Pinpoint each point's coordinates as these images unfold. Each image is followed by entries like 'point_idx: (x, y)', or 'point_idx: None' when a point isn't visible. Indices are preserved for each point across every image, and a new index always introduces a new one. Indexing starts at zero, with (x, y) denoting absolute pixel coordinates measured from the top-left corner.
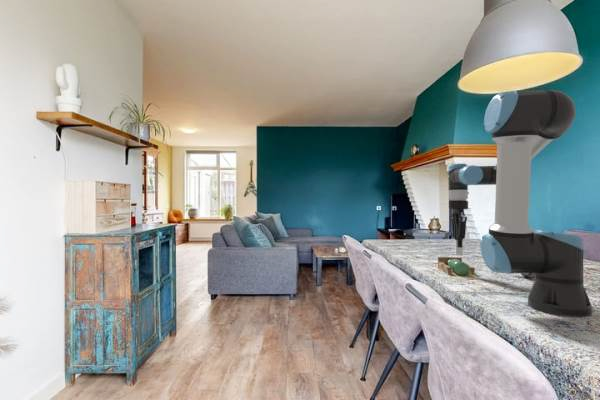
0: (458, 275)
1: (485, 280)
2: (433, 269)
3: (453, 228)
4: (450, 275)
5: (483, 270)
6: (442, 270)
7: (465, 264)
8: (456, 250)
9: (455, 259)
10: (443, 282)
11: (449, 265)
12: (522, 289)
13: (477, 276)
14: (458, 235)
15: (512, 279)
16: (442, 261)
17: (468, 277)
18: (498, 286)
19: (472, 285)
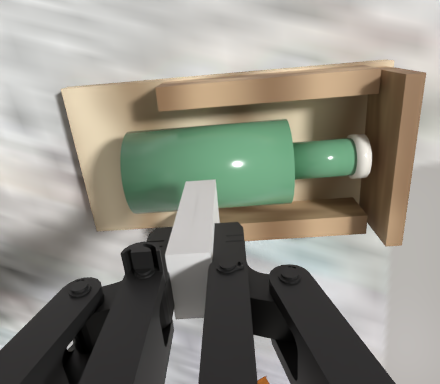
0: None
1: None
2: (411, 38)
3: (321, 380)
4: (141, 91)
5: (370, 304)
6: (273, 72)
7: (129, 200)
8: (182, 200)
9: (269, 178)
10: (25, 19)
11: (257, 122)
12: (17, 320)
13: (150, 227)
14: (64, 308)
15: (186, 346)
16: (386, 102)
17: (113, 178)
18: (35, 260)
19: (11, 160)
